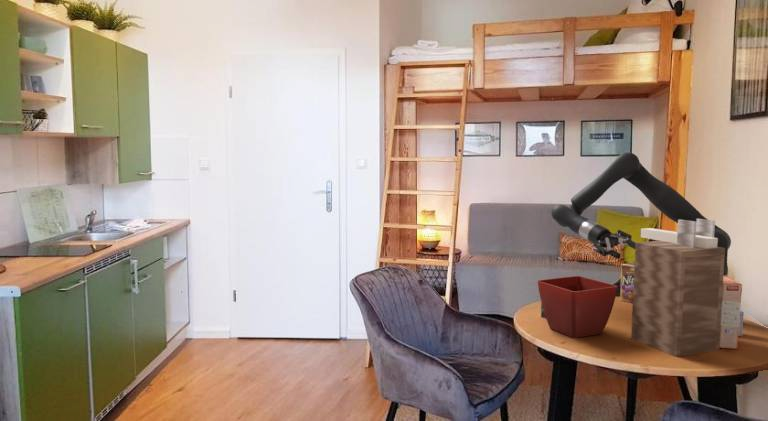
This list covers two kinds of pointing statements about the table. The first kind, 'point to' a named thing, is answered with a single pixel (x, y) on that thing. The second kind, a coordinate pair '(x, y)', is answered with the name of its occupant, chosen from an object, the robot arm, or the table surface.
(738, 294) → the cracker box
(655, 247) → the walnut shelf
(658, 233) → the cream box
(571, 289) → the plant pot
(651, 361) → the table surface
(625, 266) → the candy box
